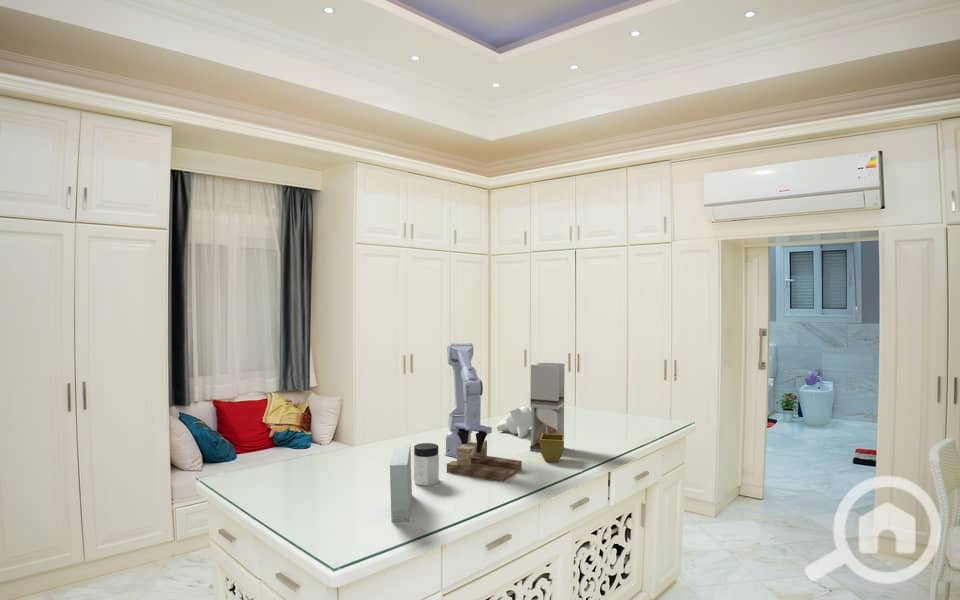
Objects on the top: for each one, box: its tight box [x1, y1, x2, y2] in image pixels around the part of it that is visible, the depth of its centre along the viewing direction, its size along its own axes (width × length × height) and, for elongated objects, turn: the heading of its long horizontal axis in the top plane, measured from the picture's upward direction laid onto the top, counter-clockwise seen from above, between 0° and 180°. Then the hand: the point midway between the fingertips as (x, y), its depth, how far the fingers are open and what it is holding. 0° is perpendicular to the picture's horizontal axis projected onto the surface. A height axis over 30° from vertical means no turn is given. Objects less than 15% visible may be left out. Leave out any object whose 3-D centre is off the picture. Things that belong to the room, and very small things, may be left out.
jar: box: [413, 442, 440, 487], centre depth 185 cm, size 9×8×12 cm
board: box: [446, 454, 523, 483], centre depth 198 cm, size 22×16×3 cm
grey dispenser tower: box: [529, 361, 566, 453], centre depth 227 cm, size 11×11×35 cm
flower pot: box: [540, 434, 565, 463], centre depth 211 cm, size 9×9×9 cm
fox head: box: [496, 405, 531, 439], centre depth 255 cm, size 13×17×20 cm
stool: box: [456, 438, 488, 466], centre depth 200 cm, size 14×5×6 cm, turn 153°
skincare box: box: [389, 444, 413, 523], centre depth 162 cm, size 21×5×16 cm, turn 5°
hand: (472, 451), depth 200 cm, fingers closed on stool, 5 cm apart
